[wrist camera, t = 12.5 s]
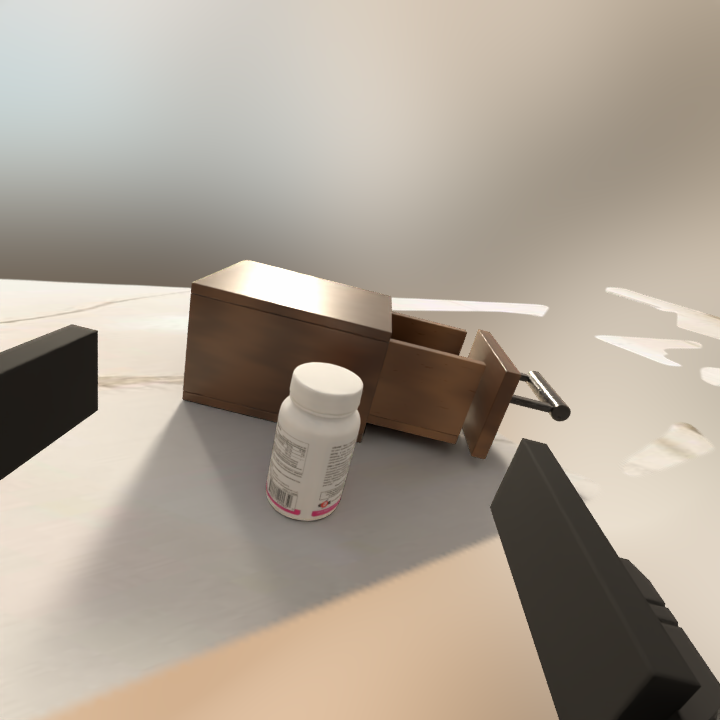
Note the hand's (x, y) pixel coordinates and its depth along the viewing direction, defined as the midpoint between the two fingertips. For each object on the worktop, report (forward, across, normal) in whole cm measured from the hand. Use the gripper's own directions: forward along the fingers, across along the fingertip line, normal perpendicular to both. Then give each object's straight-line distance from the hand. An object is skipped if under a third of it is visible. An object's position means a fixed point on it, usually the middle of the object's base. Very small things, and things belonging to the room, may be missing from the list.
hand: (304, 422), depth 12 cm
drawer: (+23, +10, -10) cm, 27 cm away
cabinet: (+23, -4, -11) cm, 26 cm away
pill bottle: (+10, 0, -12) cm, 15 cm away
